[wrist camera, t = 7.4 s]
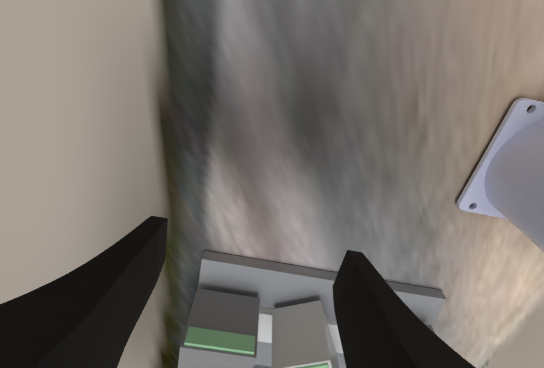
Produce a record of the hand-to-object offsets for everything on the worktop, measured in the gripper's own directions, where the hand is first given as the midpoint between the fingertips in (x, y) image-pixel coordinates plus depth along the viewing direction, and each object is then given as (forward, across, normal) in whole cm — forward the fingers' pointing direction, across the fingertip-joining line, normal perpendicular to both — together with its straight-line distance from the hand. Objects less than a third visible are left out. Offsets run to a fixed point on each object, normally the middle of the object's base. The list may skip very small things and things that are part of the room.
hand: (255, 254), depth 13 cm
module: (+8, -7, +15) cm, 18 cm away
